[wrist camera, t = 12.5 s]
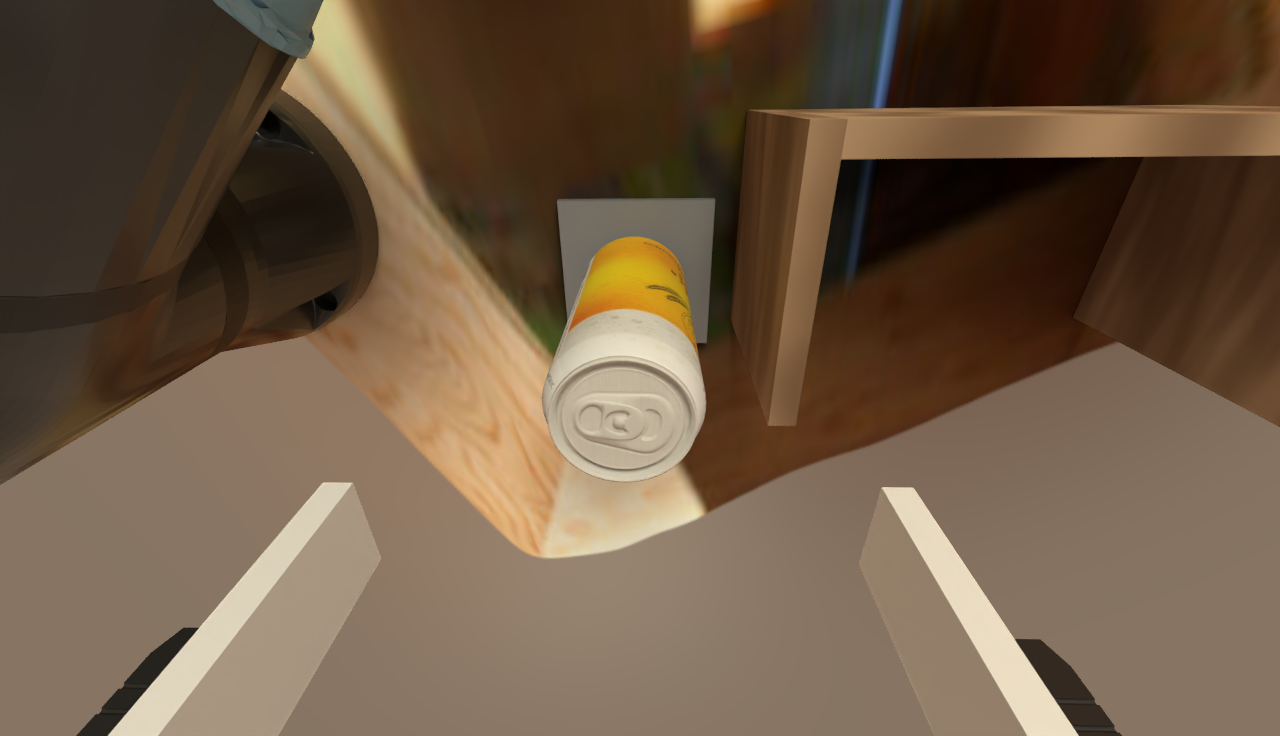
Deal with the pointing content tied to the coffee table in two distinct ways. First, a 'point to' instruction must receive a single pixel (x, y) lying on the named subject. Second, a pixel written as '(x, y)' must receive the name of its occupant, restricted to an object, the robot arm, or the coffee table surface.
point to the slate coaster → (658, 219)
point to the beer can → (627, 367)
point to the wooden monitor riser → (1128, 265)
